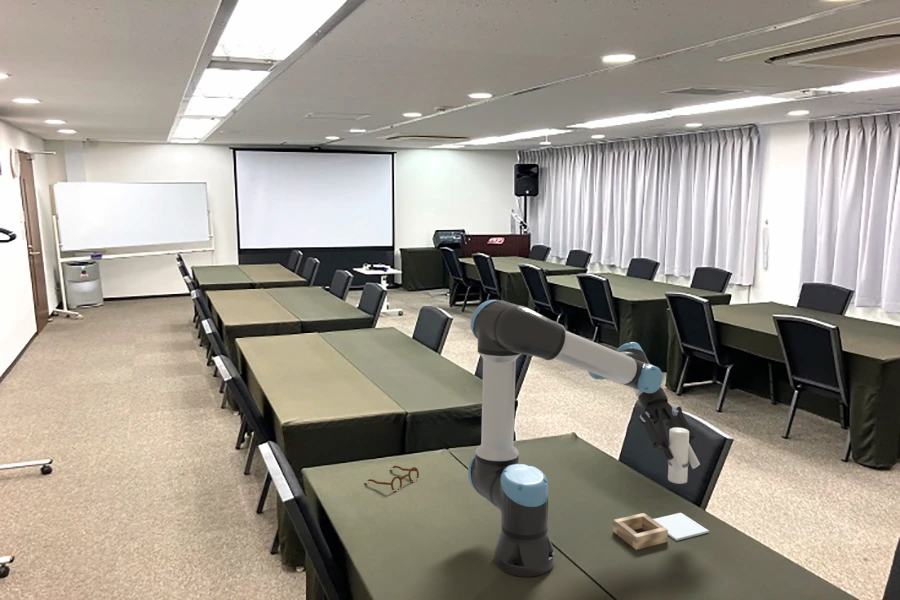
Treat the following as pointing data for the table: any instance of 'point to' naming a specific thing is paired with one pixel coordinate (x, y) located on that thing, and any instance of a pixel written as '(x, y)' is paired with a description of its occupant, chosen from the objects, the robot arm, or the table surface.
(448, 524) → the table surface
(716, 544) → the table surface
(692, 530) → the pad
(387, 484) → the glasses
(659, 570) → the table surface
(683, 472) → the white banded cylinder
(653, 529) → the collar
